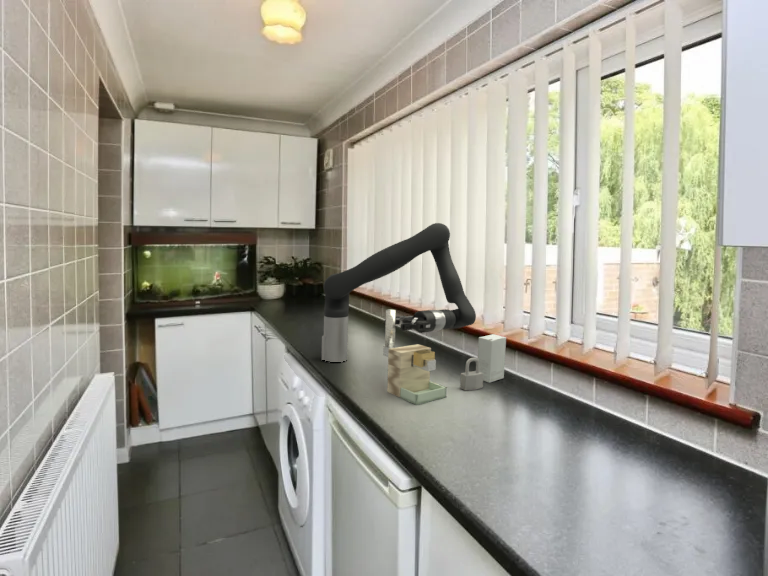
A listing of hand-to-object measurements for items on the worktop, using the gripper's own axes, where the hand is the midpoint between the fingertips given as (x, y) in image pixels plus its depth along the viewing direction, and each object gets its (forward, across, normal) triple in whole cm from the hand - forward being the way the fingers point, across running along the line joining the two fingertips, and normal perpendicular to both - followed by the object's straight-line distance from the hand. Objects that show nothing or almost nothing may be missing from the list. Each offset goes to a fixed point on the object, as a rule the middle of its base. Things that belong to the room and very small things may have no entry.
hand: (393, 325), depth 146 cm
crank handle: (+1, +9, +10) cm, 14 cm away
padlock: (-18, +19, +19) cm, 32 cm away
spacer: (+1, +17, +9) cm, 19 cm away
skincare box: (-31, +16, +19) cm, 40 cm away
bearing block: (+1, +10, +19) cm, 22 cm away
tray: (+1, +17, +19) cm, 26 cm away
